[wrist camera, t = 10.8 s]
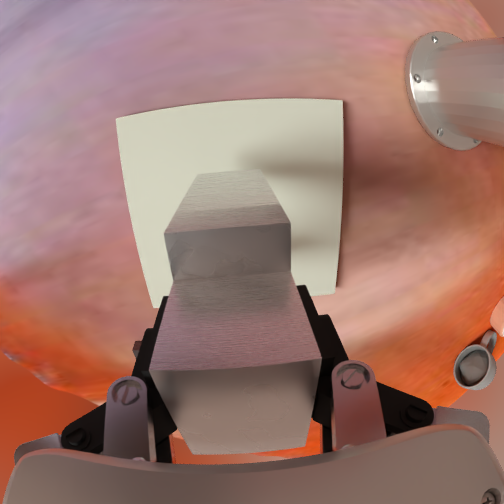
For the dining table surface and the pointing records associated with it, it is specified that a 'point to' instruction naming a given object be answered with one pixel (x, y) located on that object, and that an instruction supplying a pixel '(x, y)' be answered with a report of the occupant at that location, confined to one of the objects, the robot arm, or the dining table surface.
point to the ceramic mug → (476, 364)
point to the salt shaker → (498, 317)
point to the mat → (232, 159)
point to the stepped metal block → (234, 322)
